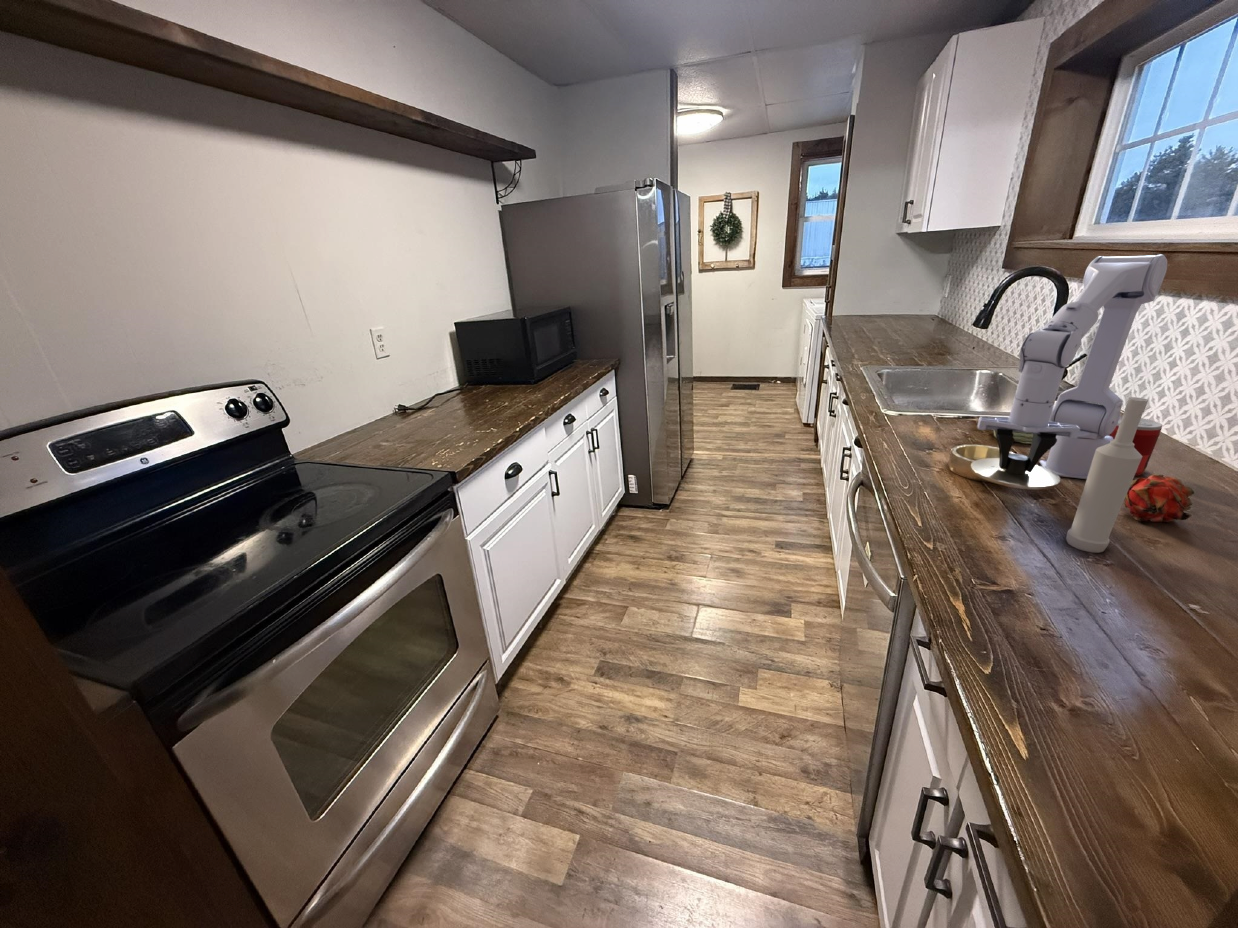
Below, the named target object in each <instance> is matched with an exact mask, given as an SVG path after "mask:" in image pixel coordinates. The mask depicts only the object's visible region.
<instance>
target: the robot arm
mask: <svg viewBox="0 0 1238 928" xmlns="http://www.w3.org/2000/svg"><path fill="white" fill-rule="evenodd" d="M1167 270H1168V259H1167V258H1166V256H1165V254H1157V255H1129V256H1127V255H1124V256H1104V255H1098V256H1096V257H1095V258H1094V259H1093V260H1091V261H1090V263H1089V264H1088V266H1087V267H1086V269H1085V273H1084V274H1083V280H1082V281H1083V282H1082V285H1083V289H1082V290H1081V292H1080V294H1079V295H1078V296H1077V298H1076V299H1075V301H1071V302H1068V303H1066V304H1064V305H1062V306H1061V307H1060V308H1059V309H1058V311H1056V313H1055V314H1054V315H1053V316H1052V317H1051V318H1050V319H1049V320H1048V322H1046V324H1045V325H1044V326H1043V327H1042V328H1041V329H1037V330H1035V331H1034V332H1033V331H1032V332H1029V333H1028V334H1027V335H1026V336H1025V338H1024V339H1023V342H1022V344H1021V347H1020V349H1019V365H1018V372H1019V373H1020V374H1019V379H1018V383H1017V387H1016V391H1015V394H1014V398H1013V402H1012V404H1011V405H1012V406H1011V410H1010V413H1009V417H985V416H984V417H983V416H980V417H978V421H977V425H976V428H977V430H978V431H979V430H980V431H985V430H989V431H990V430H991V431H993V430H995V434H996V437H997V438H996V437H995V438H996V440H997V445H998V446H997V447H998V448H999V454H1000V461H999V466H1000V468H1001V469H1005V468H1006V465H1007V461H1008V456H1009V452H1010V451H1011V450H1012V447H1013V444H1014V442H1015V441H1014V440H1015V439H1014V437H1013V433H1012V432H1023V433H1033V439H1032V444H1030V450H1029V452H1028V455H1027V457H1029V463H1028V466H1027V469H1026V471H1027V472H1032V470H1033V468H1034V467H1035V465H1038V463H1039V465H1040V466H1041V467H1044V468H1047V469H1049V470H1051V471H1053V472H1054V473H1056V474H1057V475H1058V476H1059V477H1064V478H1072V479H1082V480H1087V477H1088V474H1089V470H1090V467H1091V464H1092V461H1093V458H1094V454H1095V451H1096V449H1097V448H1099V447H1101V446H1104V445H1106V444H1109V443H1110V441H1111V440H1114V439H1113V437H1111V436H1107V435H1109V434H1111V433H1112V432H1113V431H1114V429H1115V428H1116V426H1117V424H1118V421H1119V418H1120V417H1121V411H1122V407H1123V400H1122V398H1121V397H1120V396H1119V395H1117V394H1116V393H1115V392H1114V391H1113V390H1112V389H1111V388H1110V387H1111V385H1112V381H1113V378H1114V375H1115V373H1116V370H1117V367H1118V364H1119V363H1120V359H1121V356H1122V354H1123V351H1124V348H1125V345H1126V344H1127V343H1126V342H1127V339H1128V338H1129V335H1130V332H1131V329H1132V326H1133V323H1134V321H1135V317H1136V316H1137V313H1138V311H1139V310H1140V308H1141V306H1142V305H1144V304H1148V303H1151V302H1154V301H1155V299H1156V297H1157V296H1158V294H1159V292H1160V290H1161V287H1162V284H1163V281H1164V280H1165V279H1164V278H1165V276H1166V273H1167ZM1102 308H1103V311H1102V314H1101V317H1100V319H1099V312H1098V311H1099V310H1101V309H1102ZM1098 321H1099V323H1098V325H1097V328H1096V331H1095V335H1094V337H1093V340H1092V343H1091V345H1090V349H1089V352H1088V354H1087V357H1086V361H1085V362H1084V363H1085V364H1084V366H1083V369H1082V371H1081V375H1080V378H1079V381H1078V383H1077V386H1074V387H1072V388H1069V389H1066V390H1064V391H1062V392H1061V393H1060V394H1058V393H1059V390H1060V386H1061V383H1062V379H1063V376H1064V373H1065V369H1066V367H1068V366H1069V365H1070V364H1071V363H1072V362H1073V361H1074V358H1075V357H1076V355H1077V352H1078V350H1080V349H1079V348H1081V345H1082V340H1083V339H1084V337H1085V336H1086V335H1087V334H1088V333H1089V331H1091V329H1092V328H1093V327H1094V326H1095V325H1096V324H1097V322H1098ZM1057 395H1058V396H1057ZM1048 451H1049V453H1048V457H1047V459H1046V460H1044V459H1043V460H1042V457H1044V456H1045V454H1046V453H1047V452H1048Z"/></svg>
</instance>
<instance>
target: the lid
mask: <svg viewBox="0 0 1238 928" xmlns="http://www.w3.org/2000/svg"><path fill="white" fill-rule="evenodd" d="M999 461H1000V458H986V459H979V460H976V461H974V462H972V463H971V466H970V469H971V471H972V472H973V473H974V474H975V475H977V476H979V477H981V478H983V479H985V480H988V481H990V482H989V483H993V484H997V485H1000V486H1005V487H1009V488H1015V489H1021V490H1022V489H1023V490H1034V491H1035V490H1037V491H1039V490H1050V489H1054V488H1056V487H1058V486H1060V484H1061V481H1062V478H1061V476H1058V475H1057V474H1056V473H1054V472H1053V471H1051V470H1049V469H1047V468H1044V467H1042V465H1038V464H1036V465H1035V467H1034V468H1033V470H1032V472H1027V471H1026V469H1027V466H1028V463H1029V457H1028V455H1024V454H1020V453H1015V454H1009V456H1008V461H1007V465H1006V468H1005V469H1001V468H1000V466H999Z"/></svg>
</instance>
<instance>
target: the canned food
mask: <svg viewBox="0 0 1238 928" xmlns="http://www.w3.org/2000/svg"><path fill="white" fill-rule="evenodd" d="M1122 417H1123V416H1120V418H1119V421H1118V424H1117V426H1116V428H1115V429H1114V431H1113V432H1112V433H1111V434H1109V435H1107V436H1111V437H1113V439H1115V436H1116V434H1117V431H1118V428H1119V425H1120V423H1121V420H1122ZM1162 428H1163V424H1162V423H1160V422H1158V421H1155V420H1153V419H1148V418H1142V417H1141V419H1140V422H1139V425H1138V428H1137V430H1136V433H1135V436H1134V438H1133V441H1132V442H1133V443H1134V444H1135V445H1134V448H1135V449H1136V450H1137V451H1138V452H1139V453H1140V454H1141V455H1142V459H1141V461H1140V464H1139V466H1138V468H1137V471H1136V473H1135V475H1134V477H1136V476H1137V477H1138V476H1141V475H1142V474H1144V473H1145V472H1146V468H1147V467H1148V464H1149V461H1150V459H1151V457H1152V455H1153V452H1154V449H1155V447H1156V444H1157V442H1158V440H1159V437H1160V435H1161V432H1162Z"/></svg>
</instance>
